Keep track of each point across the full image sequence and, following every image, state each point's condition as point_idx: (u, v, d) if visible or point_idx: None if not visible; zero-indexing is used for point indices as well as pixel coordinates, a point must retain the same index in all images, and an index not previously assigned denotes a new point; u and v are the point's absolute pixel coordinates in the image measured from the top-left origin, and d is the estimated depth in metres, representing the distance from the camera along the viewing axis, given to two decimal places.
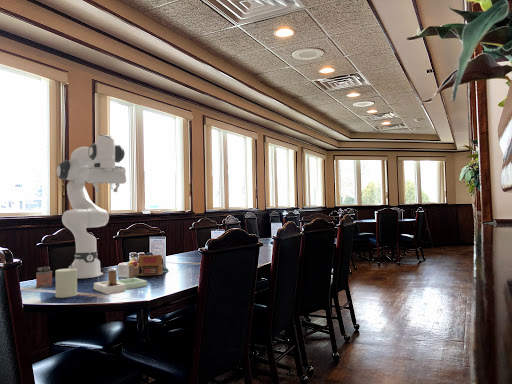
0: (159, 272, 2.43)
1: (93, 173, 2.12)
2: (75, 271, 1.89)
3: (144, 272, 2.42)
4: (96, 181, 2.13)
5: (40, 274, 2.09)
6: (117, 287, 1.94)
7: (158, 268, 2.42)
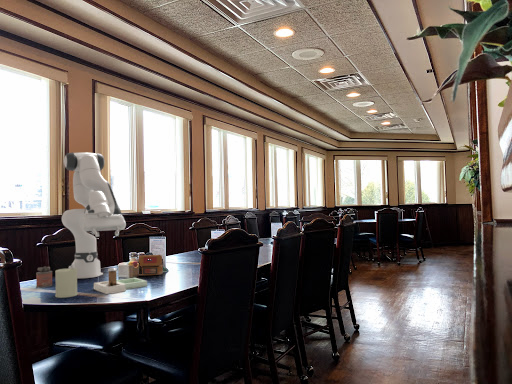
0: (159, 272, 2.43)
1: (88, 219, 2.04)
2: (75, 271, 1.89)
3: (144, 272, 2.42)
4: (93, 225, 2.03)
5: (40, 274, 2.09)
6: (117, 287, 1.94)
7: (158, 268, 2.43)
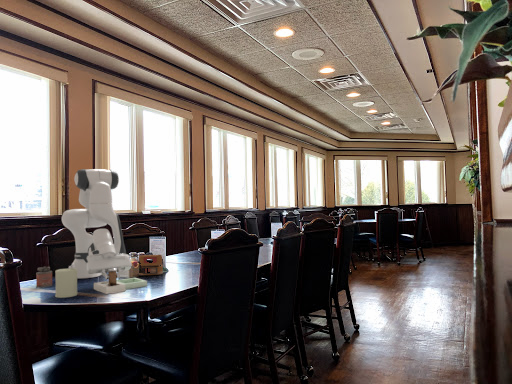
0: (159, 272, 2.44)
1: (93, 261, 1.96)
2: (75, 271, 1.89)
3: None
4: (98, 267, 1.95)
5: (40, 274, 2.09)
6: (117, 287, 1.94)
7: (158, 268, 2.44)
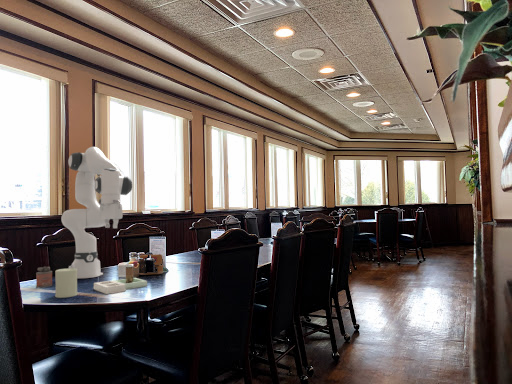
0: (159, 271, 2.46)
1: (101, 209, 2.13)
2: (75, 271, 1.89)
3: None
4: (103, 217, 2.12)
5: (40, 274, 2.09)
6: (117, 287, 1.94)
7: (158, 267, 2.46)
